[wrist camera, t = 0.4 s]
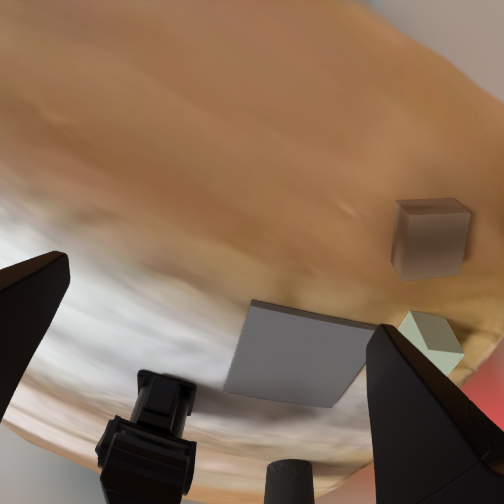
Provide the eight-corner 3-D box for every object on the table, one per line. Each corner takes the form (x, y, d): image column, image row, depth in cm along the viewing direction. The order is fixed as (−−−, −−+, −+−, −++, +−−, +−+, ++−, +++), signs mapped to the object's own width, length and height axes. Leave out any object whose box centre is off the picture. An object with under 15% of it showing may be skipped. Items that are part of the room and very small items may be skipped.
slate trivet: (330, 402, 32) (331, 408, 31) (224, 385, 31) (223, 391, 31) (382, 326, 26) (384, 332, 26) (251, 299, 26) (250, 305, 25)
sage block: (421, 350, 28) (436, 387, 23) (386, 345, 28) (399, 385, 23) (444, 317, 26) (465, 354, 21) (409, 309, 25) (427, 349, 21)
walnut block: (443, 254, 23) (459, 274, 20) (389, 259, 23) (401, 281, 21) (451, 197, 20) (471, 212, 18) (394, 199, 21) (409, 215, 18)
